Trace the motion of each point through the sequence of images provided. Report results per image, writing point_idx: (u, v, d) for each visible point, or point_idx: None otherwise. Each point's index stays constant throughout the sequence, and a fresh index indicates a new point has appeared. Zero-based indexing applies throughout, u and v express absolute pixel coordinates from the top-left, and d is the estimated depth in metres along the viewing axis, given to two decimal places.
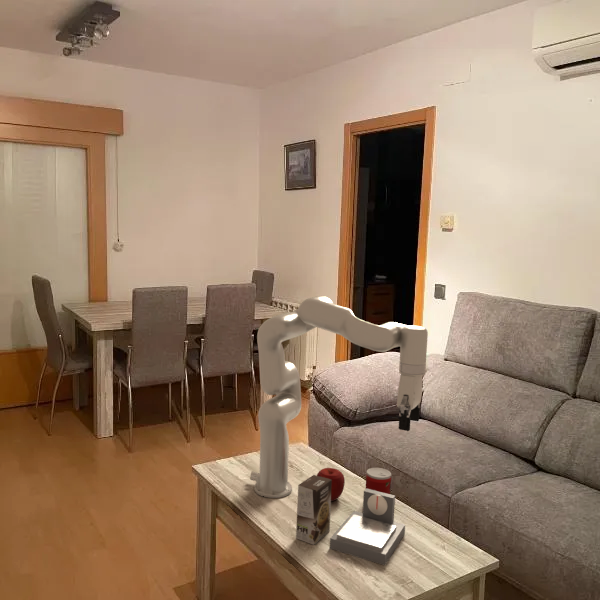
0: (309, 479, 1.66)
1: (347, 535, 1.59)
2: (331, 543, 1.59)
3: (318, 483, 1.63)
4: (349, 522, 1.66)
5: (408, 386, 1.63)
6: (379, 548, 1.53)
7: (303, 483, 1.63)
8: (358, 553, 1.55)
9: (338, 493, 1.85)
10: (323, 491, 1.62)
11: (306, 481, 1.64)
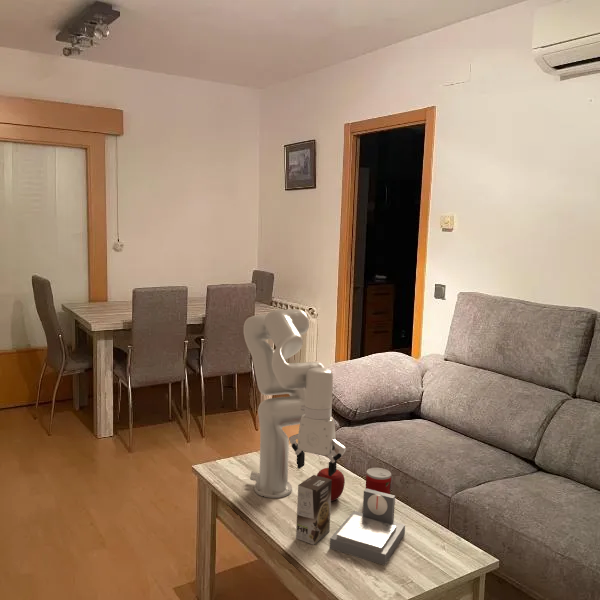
0: (309, 479, 1.66)
1: (347, 535, 1.59)
2: (331, 543, 1.59)
3: (318, 483, 1.63)
4: (349, 522, 1.66)
5: (334, 429, 1.60)
6: (379, 548, 1.53)
7: (303, 483, 1.63)
8: (358, 553, 1.55)
9: (338, 493, 1.85)
10: (323, 491, 1.62)
11: (306, 481, 1.64)
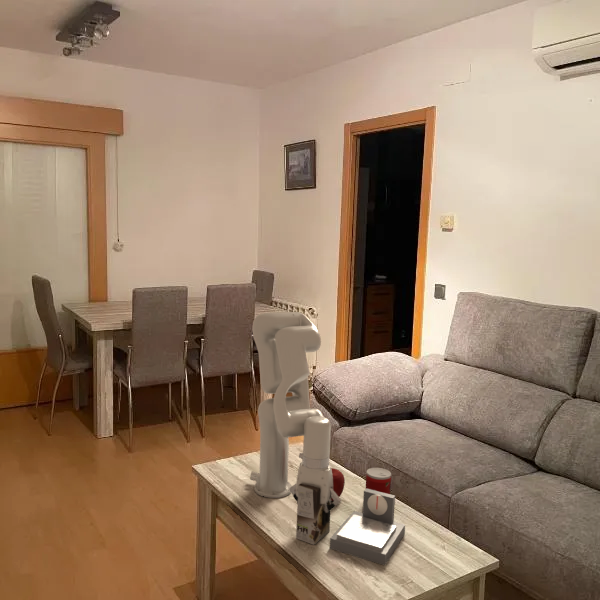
0: None
1: (347, 535, 1.59)
2: (331, 543, 1.59)
3: None
4: (349, 522, 1.66)
5: (331, 477, 1.62)
6: (379, 548, 1.53)
7: None
8: (358, 553, 1.55)
9: (338, 493, 1.85)
10: None
11: None
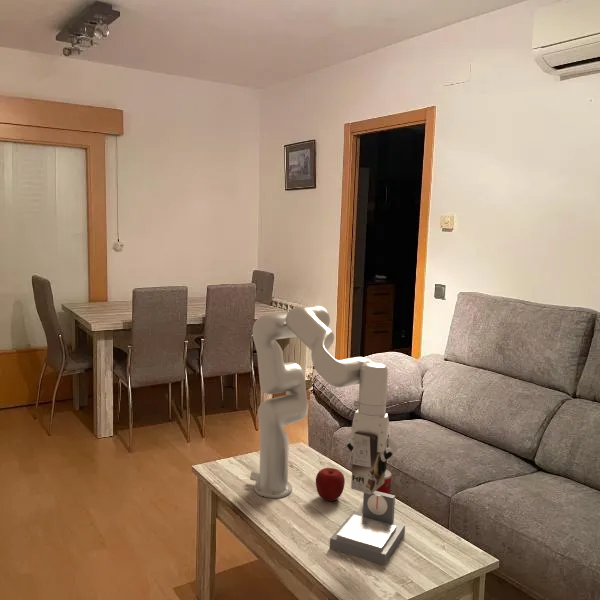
0: None
1: (347, 535, 1.59)
2: (331, 543, 1.59)
3: None
4: (349, 522, 1.66)
5: (388, 425, 1.56)
6: (379, 548, 1.53)
7: None
8: (358, 553, 1.55)
9: (338, 493, 1.85)
10: None
11: None
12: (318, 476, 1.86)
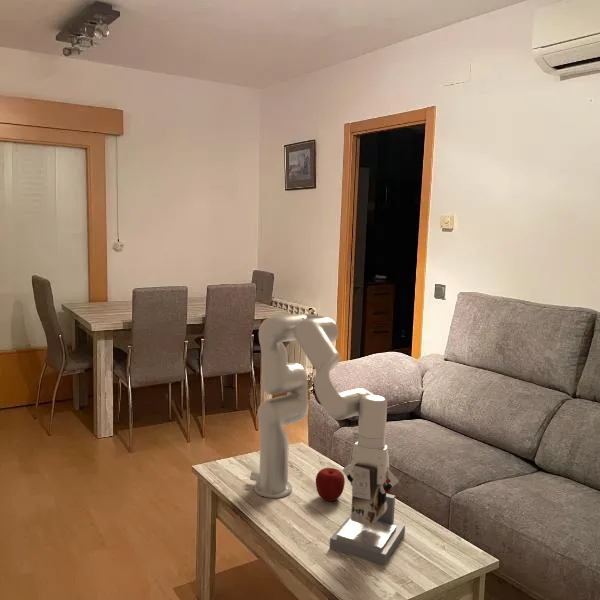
0: None
1: (347, 535, 1.59)
2: (331, 543, 1.59)
3: None
4: (349, 522, 1.66)
5: (388, 457, 1.57)
6: (379, 548, 1.53)
7: None
8: (358, 553, 1.55)
9: (338, 493, 1.85)
10: None
11: None
12: (318, 476, 1.86)
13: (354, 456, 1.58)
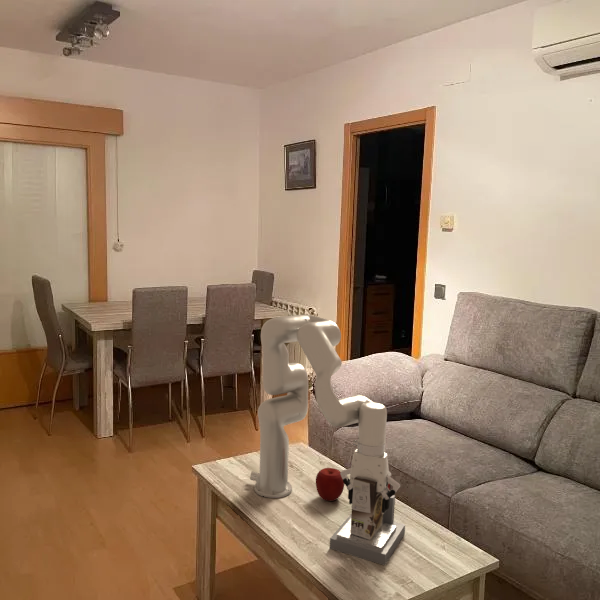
0: None
1: (347, 535, 1.59)
2: (331, 543, 1.59)
3: None
4: (349, 522, 1.66)
5: (387, 465, 1.58)
6: (379, 548, 1.53)
7: None
8: (358, 553, 1.55)
9: (338, 493, 1.85)
10: None
11: None
12: (318, 476, 1.86)
13: (354, 463, 1.59)
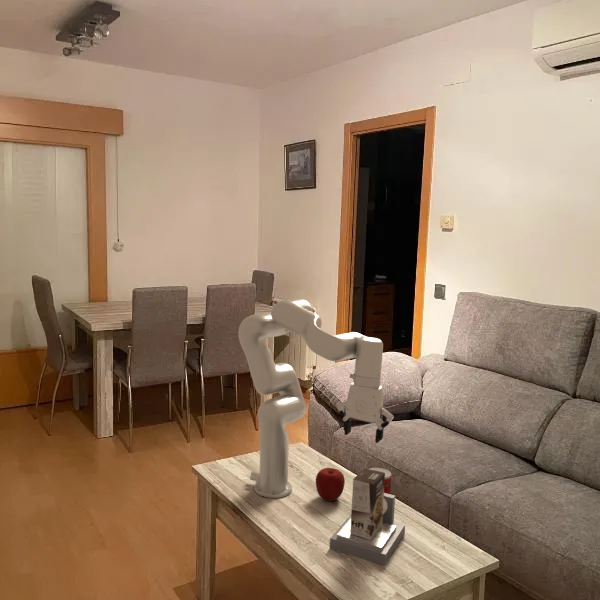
0: (362, 473, 1.62)
1: (347, 535, 1.59)
2: (331, 543, 1.59)
3: (373, 477, 1.59)
4: (349, 522, 1.66)
5: (382, 397, 1.64)
6: (379, 548, 1.53)
7: (358, 477, 1.59)
8: (358, 553, 1.55)
9: (338, 493, 1.85)
10: (379, 485, 1.58)
11: (360, 475, 1.60)
12: (318, 476, 1.86)
13: (350, 395, 1.65)
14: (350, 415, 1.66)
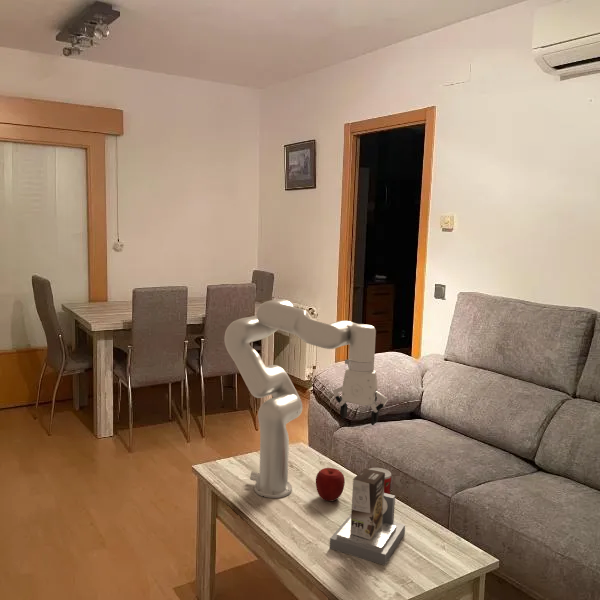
0: (362, 473, 1.62)
1: (347, 535, 1.59)
2: (331, 543, 1.59)
3: (373, 477, 1.59)
4: (349, 522, 1.66)
5: (376, 381, 1.71)
6: (379, 548, 1.53)
7: (358, 477, 1.59)
8: (358, 553, 1.55)
9: (338, 493, 1.85)
10: (379, 485, 1.58)
11: (360, 475, 1.60)
12: (318, 476, 1.86)
13: (345, 380, 1.72)
14: (346, 399, 1.73)
